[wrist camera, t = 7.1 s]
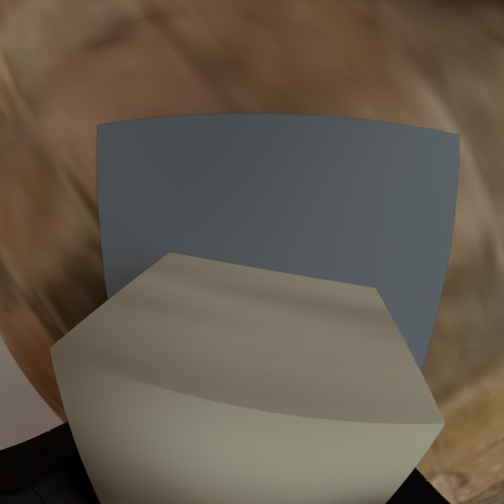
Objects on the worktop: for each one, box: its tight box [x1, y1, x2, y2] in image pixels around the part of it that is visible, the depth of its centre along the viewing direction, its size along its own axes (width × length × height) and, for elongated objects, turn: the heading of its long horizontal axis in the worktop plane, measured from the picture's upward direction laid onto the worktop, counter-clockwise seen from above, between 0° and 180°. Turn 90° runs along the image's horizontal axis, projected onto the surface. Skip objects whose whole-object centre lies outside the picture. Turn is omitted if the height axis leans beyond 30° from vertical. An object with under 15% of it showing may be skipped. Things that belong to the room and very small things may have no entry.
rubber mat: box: [97, 114, 460, 371], centre depth 16 cm, size 18×18×1 cm
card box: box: [49, 252, 445, 504], centre depth 7 cm, size 8×6×5 cm
